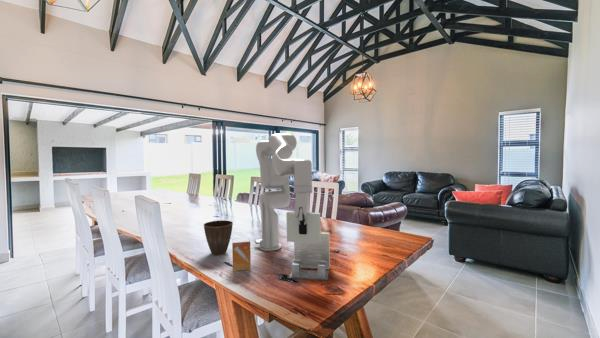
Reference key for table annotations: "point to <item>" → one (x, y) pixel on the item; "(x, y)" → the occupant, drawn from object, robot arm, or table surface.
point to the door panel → (312, 228)
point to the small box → (241, 254)
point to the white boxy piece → (311, 259)
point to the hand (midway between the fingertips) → (303, 232)
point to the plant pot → (218, 235)
